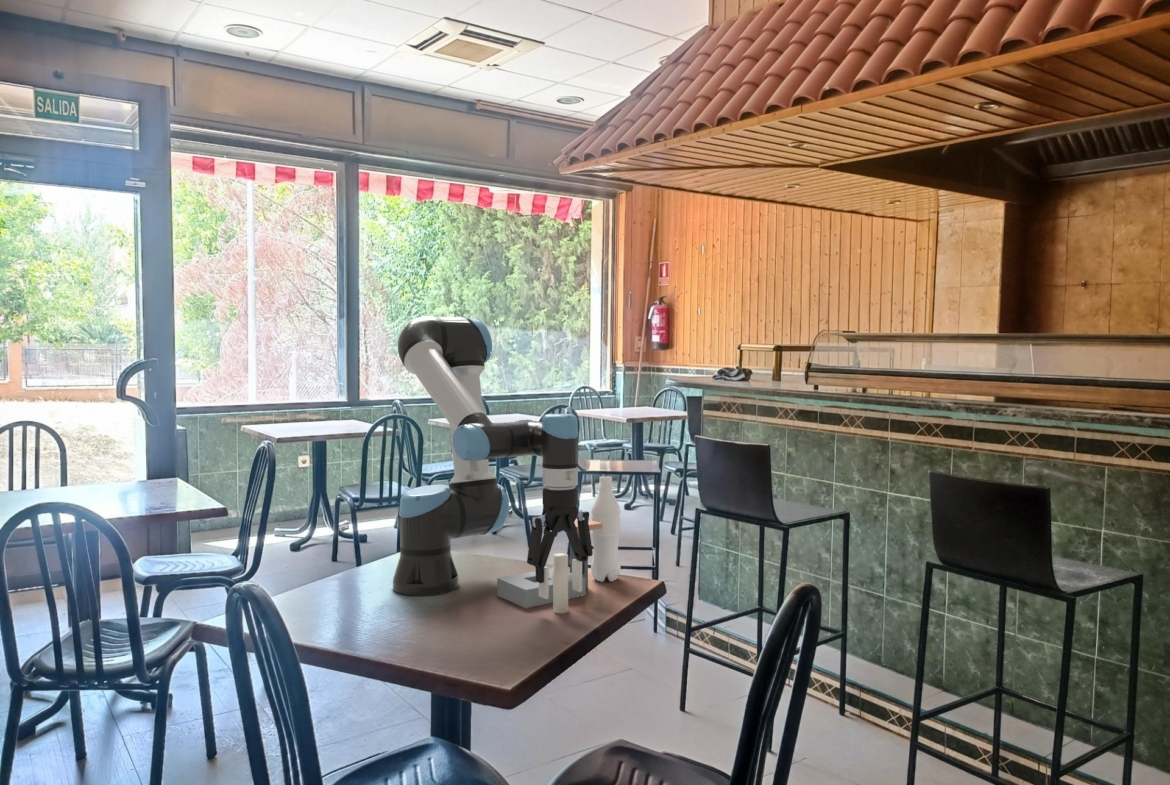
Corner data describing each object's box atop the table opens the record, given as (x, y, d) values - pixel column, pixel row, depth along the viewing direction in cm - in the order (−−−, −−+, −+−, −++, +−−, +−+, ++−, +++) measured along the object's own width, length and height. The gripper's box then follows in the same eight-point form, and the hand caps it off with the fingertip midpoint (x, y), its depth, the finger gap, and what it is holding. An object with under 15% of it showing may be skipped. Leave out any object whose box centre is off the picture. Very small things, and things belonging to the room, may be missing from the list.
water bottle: (625, 578, 198) (625, 476, 197) (610, 585, 192) (610, 480, 191) (600, 574, 202) (600, 474, 201) (585, 580, 196) (585, 477, 195)
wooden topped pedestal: (542, 585, 192) (542, 517, 192) (567, 580, 196) (566, 513, 196) (577, 598, 181) (577, 526, 180) (602, 593, 185) (602, 523, 185)
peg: (550, 610, 173) (550, 554, 172) (562, 607, 175) (562, 552, 174) (558, 614, 170) (558, 557, 170) (571, 611, 172) (571, 555, 172)
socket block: (497, 595, 184) (497, 578, 184) (555, 583, 193) (555, 567, 193) (525, 608, 174) (525, 590, 174) (585, 595, 184) (585, 578, 184)
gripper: (528, 494, 162) (528, 606, 163) (610, 484, 174) (610, 589, 175) (508, 489, 168) (509, 598, 169) (589, 480, 180) (589, 581, 181)
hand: (560, 593), depth 172 cm, fingers open, 8 cm apart
